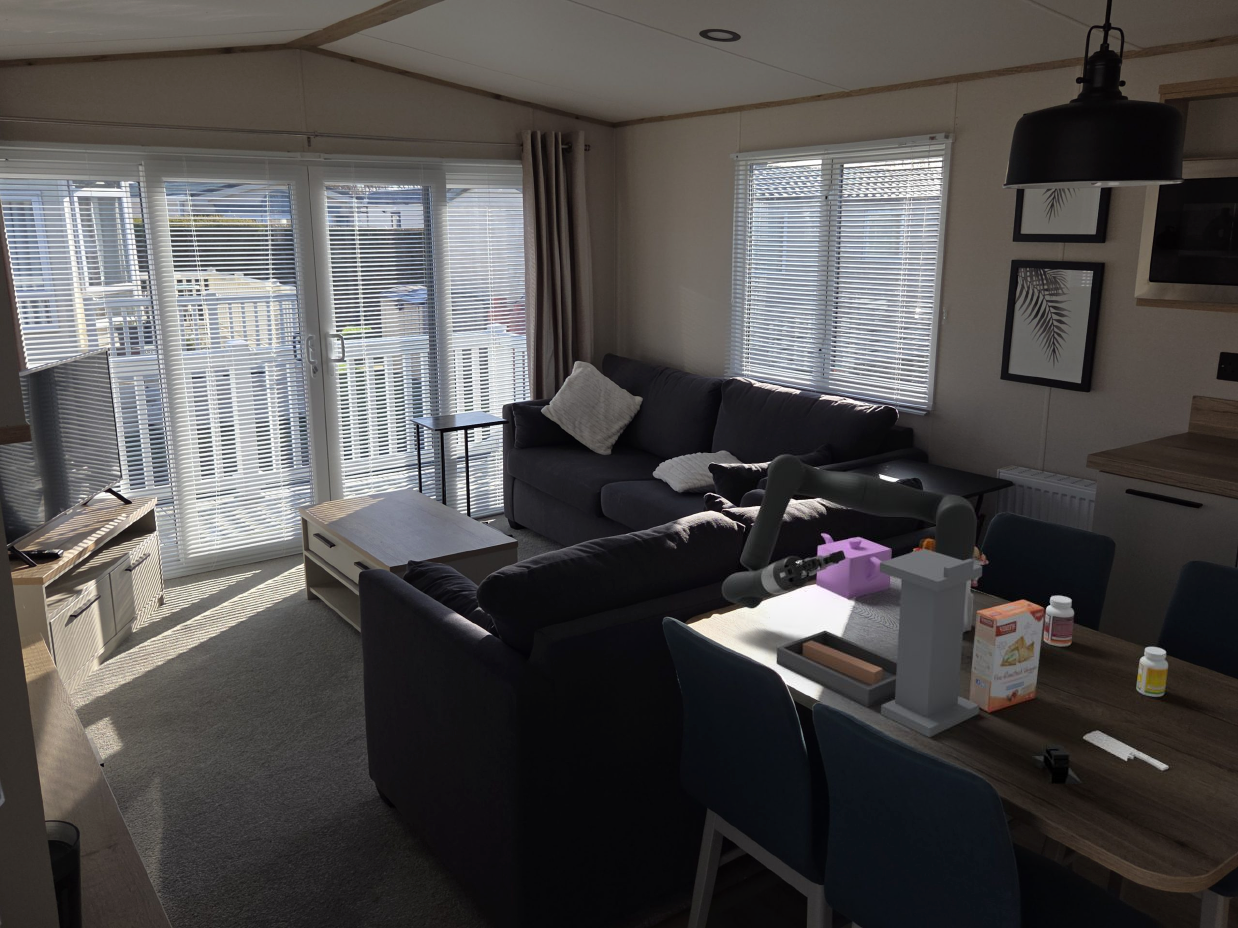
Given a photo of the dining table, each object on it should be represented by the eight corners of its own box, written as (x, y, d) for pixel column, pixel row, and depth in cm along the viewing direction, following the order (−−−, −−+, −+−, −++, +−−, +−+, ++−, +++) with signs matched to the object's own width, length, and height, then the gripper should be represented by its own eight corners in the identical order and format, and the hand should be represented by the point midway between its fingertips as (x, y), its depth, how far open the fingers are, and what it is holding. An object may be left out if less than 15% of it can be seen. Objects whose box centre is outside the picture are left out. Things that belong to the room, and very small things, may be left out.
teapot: (840, 568, 290) (842, 522, 286) (902, 594, 268) (905, 545, 265) (800, 577, 282) (801, 531, 279) (860, 605, 261) (863, 555, 258)
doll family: (987, 584, 274) (990, 539, 271) (979, 595, 266) (982, 549, 263) (911, 571, 285) (914, 528, 282) (901, 581, 278) (904, 537, 275)
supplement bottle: (1130, 689, 212) (1135, 648, 210) (1147, 684, 214) (1152, 643, 212) (1153, 699, 207) (1158, 657, 205) (1170, 694, 209) (1175, 652, 207)
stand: (869, 708, 205) (877, 554, 197) (918, 687, 214) (927, 538, 206) (929, 737, 193) (939, 574, 185) (978, 713, 202) (990, 557, 194)
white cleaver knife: (1149, 777, 179) (1150, 771, 179) (1080, 740, 192) (1080, 735, 192) (1168, 769, 181) (1168, 764, 181) (1098, 734, 194) (1098, 729, 194)
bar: (802, 655, 228) (802, 643, 228) (811, 652, 230) (811, 640, 230) (873, 685, 213) (874, 672, 213) (881, 681, 215) (882, 668, 214)
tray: (776, 663, 227) (776, 647, 226) (824, 645, 236) (825, 630, 235) (867, 707, 206) (868, 689, 205) (916, 686, 215) (917, 669, 214)
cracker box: (990, 714, 202) (997, 619, 197) (967, 702, 207) (974, 609, 202) (1037, 699, 208) (1046, 606, 203) (1014, 687, 213) (1022, 597, 208)
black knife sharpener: (1022, 755, 188) (1024, 732, 187) (1061, 754, 188) (1063, 732, 187) (1050, 790, 176) (1052, 767, 175) (1091, 790, 176) (1093, 766, 174)
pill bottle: (1076, 643, 235) (1081, 600, 233) (1061, 649, 232) (1065, 605, 229) (1053, 634, 240) (1057, 592, 238) (1037, 640, 237) (1041, 597, 234)
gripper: (757, 566, 229) (802, 548, 216) (800, 554, 237) (846, 536, 224) (767, 597, 227) (813, 581, 214) (811, 584, 235) (857, 567, 222)
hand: (830, 558), depth 219 cm, fingers open, 8 cm apart
